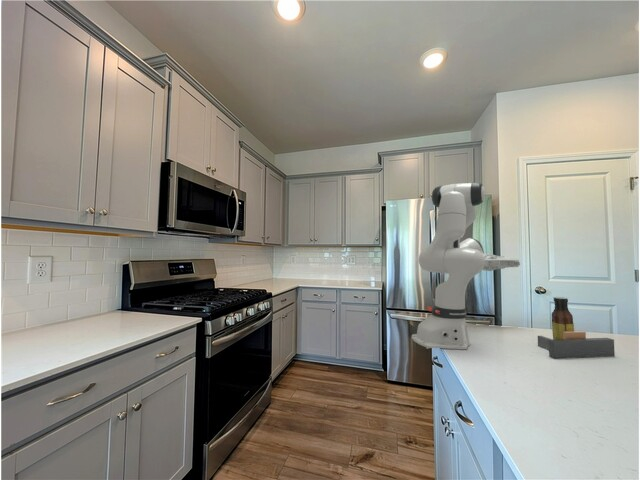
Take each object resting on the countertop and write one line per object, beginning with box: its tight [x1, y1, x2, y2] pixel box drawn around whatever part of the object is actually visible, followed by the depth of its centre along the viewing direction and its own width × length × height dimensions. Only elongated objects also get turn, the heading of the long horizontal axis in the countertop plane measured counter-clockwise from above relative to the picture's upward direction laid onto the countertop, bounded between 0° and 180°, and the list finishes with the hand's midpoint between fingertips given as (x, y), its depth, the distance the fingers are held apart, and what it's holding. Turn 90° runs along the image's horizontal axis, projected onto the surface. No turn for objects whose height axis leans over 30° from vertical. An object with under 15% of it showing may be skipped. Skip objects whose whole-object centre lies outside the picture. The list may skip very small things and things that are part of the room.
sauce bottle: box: [551, 296, 575, 339], centre depth 99 cm, size 6×6×20 cm
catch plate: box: [563, 330, 587, 339], centre depth 95 cm, size 8×1×7 cm, turn 96°
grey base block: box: [537, 335, 616, 360], centre depth 98 cm, size 24×12×6 cm, turn 96°
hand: (509, 263), depth 122 cm, fingers open, 8 cm apart
